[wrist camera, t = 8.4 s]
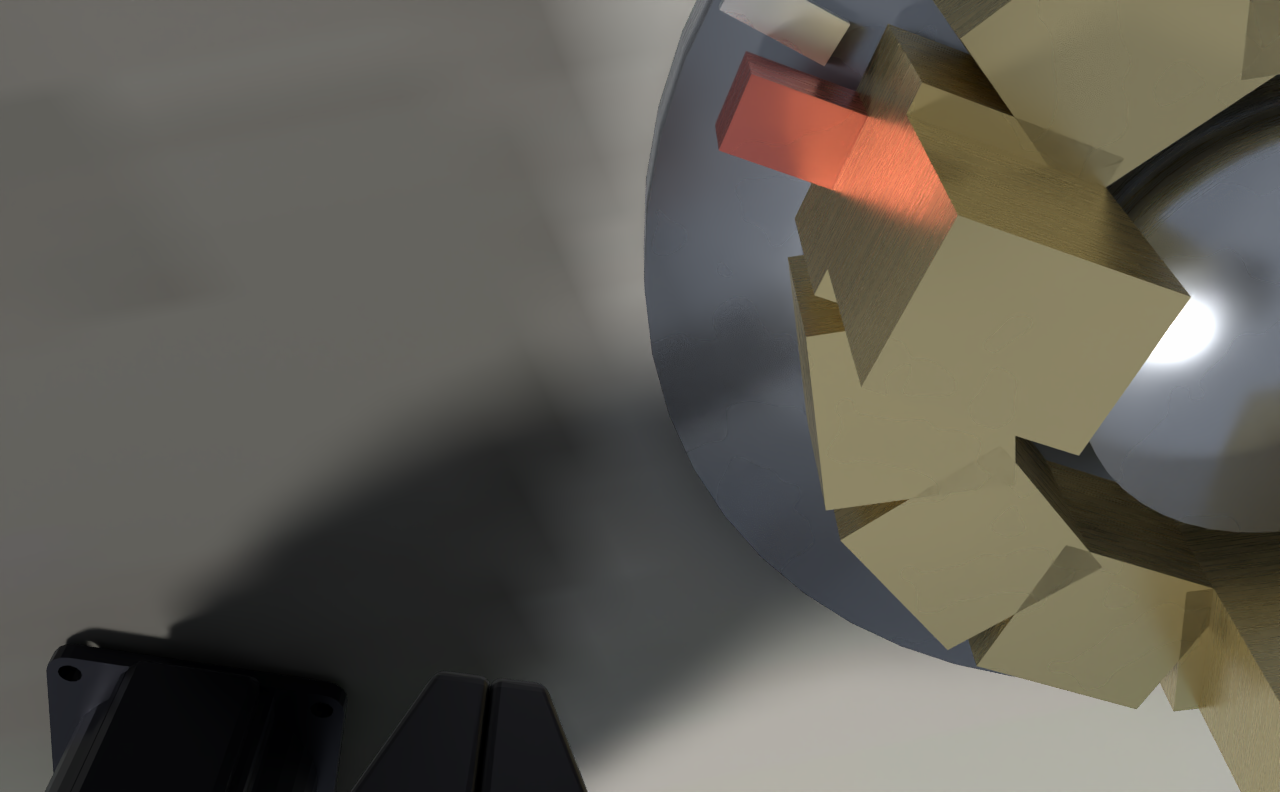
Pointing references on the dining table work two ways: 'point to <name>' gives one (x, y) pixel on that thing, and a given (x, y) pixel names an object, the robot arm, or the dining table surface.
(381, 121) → the dining table surface
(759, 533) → the grey round tray
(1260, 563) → the tan segmented ring
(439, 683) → the robot arm
